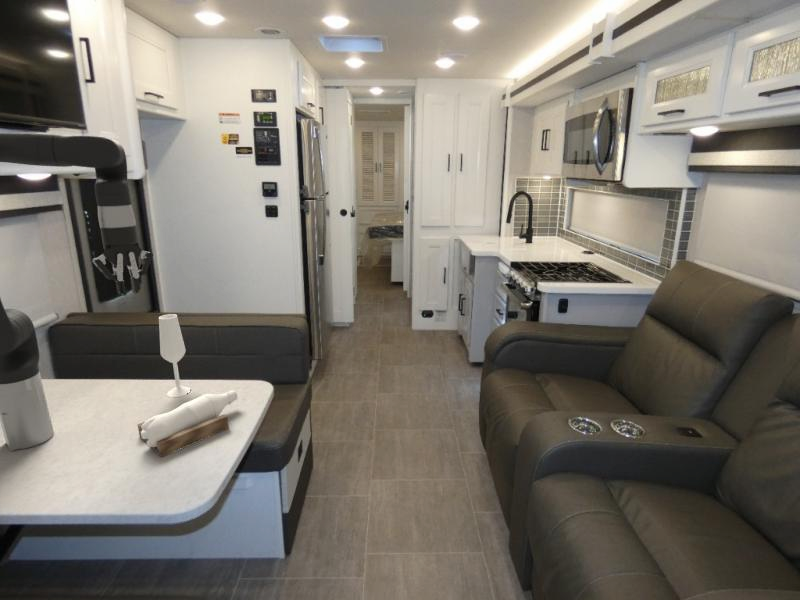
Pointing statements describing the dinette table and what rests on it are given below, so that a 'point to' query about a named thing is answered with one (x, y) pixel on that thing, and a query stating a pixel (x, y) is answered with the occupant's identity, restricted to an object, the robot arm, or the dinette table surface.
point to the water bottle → (185, 416)
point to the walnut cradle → (188, 435)
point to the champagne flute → (172, 349)
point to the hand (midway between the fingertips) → (129, 293)
